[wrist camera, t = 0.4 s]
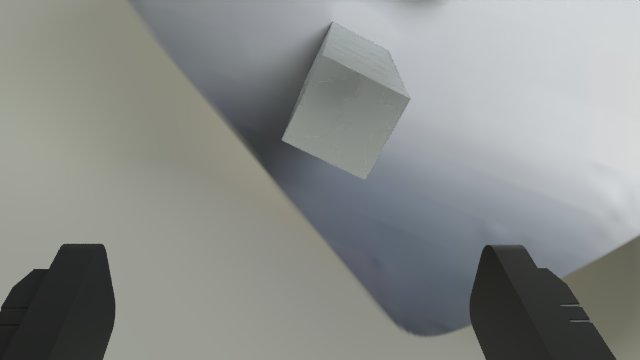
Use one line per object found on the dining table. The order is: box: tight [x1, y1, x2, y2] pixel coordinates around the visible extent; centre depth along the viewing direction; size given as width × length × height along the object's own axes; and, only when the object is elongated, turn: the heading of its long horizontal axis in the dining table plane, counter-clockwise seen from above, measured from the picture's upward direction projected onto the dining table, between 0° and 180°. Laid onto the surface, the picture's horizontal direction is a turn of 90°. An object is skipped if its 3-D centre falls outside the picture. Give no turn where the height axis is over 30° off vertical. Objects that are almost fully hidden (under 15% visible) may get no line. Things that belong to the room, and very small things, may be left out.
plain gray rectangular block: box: [282, 22, 410, 180], centre depth 30 cm, size 4×4×14 cm
